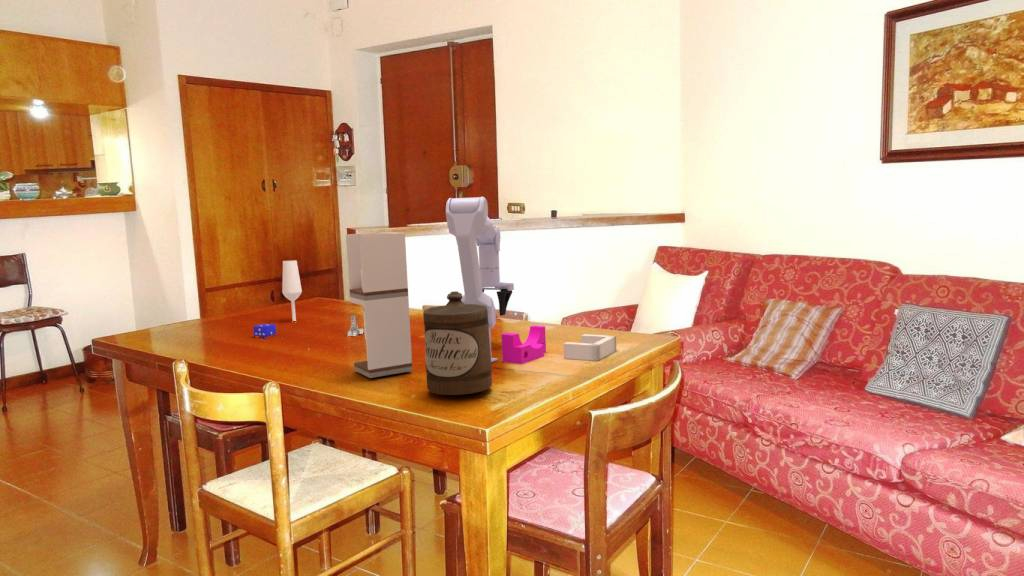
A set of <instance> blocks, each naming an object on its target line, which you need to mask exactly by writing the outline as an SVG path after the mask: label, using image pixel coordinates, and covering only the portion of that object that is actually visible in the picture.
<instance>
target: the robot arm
mask: <svg viewBox="0 0 1024 576" xmlns="http://www.w3.org/2000/svg"><path fill="white" fill-rule="evenodd" d="M445 204H446V205H445V217H446V225H447V229H448V233H449V234H451V235H453V236H454V237H455V242H456V245H457V250H458V257H459V263H460V271H461V277H462V278H461V279H462V287H463V291H464V295H463V294H462V299H461V301H462V302H463V303H464V304H475V305H483V306H486V307H487V310H488V327H489V340H490V352H491V353H492V339H491V337H492V335H491V334H492V333H491V330H492V329H494V327H495V326H496V323H497V311H496V306H495V304H494V300H493V298H492V297H491V296H489V295H488V294H486V293H485V290H488V291H489V290H490V291H491V290H492V291H496V296H497V300H498V309H499V310H498V311H499V316H500V317H501V316H506V311H507V308H508V304H509V301H510V298H511V297H512V295H513V291H514V290H515V289H514V288H515V287H514V282H512V283H511V282H501V280H500V279H501V278H500V277H501V276H500V256H499V255H500V254H499V253H500V251H501V249H500V248H501V247H500V246H501V245H500V244H501V230H500V227H497V226H496V225H495V226H494V224H493V222H492V220H491V219H490V217H489V216H488V215H489V204H488V200H487V198H485V197H484V196H478V197H455V198H453V197H449V198H448V199H447V201H446V203H445ZM477 247H478V248H477ZM497 361H499V358H498V357H492V355H491V364H492V363H494V362H497Z"/></svg>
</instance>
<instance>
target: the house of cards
mask: <svg viewBox="0 0 1024 576" xmlns="http://www.w3.org/2000/svg"><path fill="white" fill-rule="evenodd" d="M350 322H351V325H350V328H349V331H347V337H348V336H356V337H357V336H359V334H363V333H364V334H365V330H364V328H359V327H358V326H359V325H358V324H357V317H356V315H354V314H353V315H351V316H350ZM364 334H363V335H364Z"/></svg>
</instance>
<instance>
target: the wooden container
mask: <svg viewBox="0 0 1024 576" xmlns="http://www.w3.org/2000/svg"><path fill="white" fill-rule="evenodd" d="M462 296H463V294H462V293H461V292H459V291H457V290H456V291H450V293H448V294H447V296H446V299H447V300H448V302H447V303H446V304H445V305H439V306H438V305H437V306H433V307H428V308H425V309H423V311H422V312H423V313H422V314H423V316H422V317H423V325H424V348H425V349H424V351H425V352H424V355H425V357H424V358H425V371H426V389H427V390H428V391H429V392H430V393H433V394H437V395H443V396H462V395H464V396H465V395H470V394H478V393H481V392H484V391H487V390H488V389H490V388H491V387H492V385H493V380H492V379H493V376H492V363H491V356H492V351H491V352H490V340H489V327H488V310H487V307H486V306H483V305H475V304H464V303H463V302H462V301H461V299H462Z"/></svg>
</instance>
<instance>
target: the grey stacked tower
mask: <svg viewBox="0 0 1024 576" xmlns="http://www.w3.org/2000/svg"><path fill="white" fill-rule="evenodd" d="M345 242H346V256H347V257H346V258H347V273H348V274H347V275H348V289H349V302H350V303H351V304H356V305H359V306H362V307H363V310H362V311H363V312H362V313H363V326H364V328H363V329H364V338H365V339H364V340H365V342H366V343H365V344H366V345H365V346H366V357H367V358H366V360H362V361H356V362H354V363H353V364H354V365H353V366H354V367H353V368H354V372H357V373H359V374H361V375H363V376H364V377H367V378H369V379H372V378H378V377H384V376H390V375H396V374H402V373H407V372H412V371H413V358H412V357H413V355H412V341H411V340H412V337H411V321H410V304H409V302H410V301H409V299H410V298H409V285H408V281H409V280H408V264H407V263H408V262H407V250H406V249H407V248H406V232H393V231H391V232H389V231H388V232H386V231H385V232H384V231H383V232H371V233H370V232H368V233H351V234H350V233H349V234H345Z"/></svg>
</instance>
